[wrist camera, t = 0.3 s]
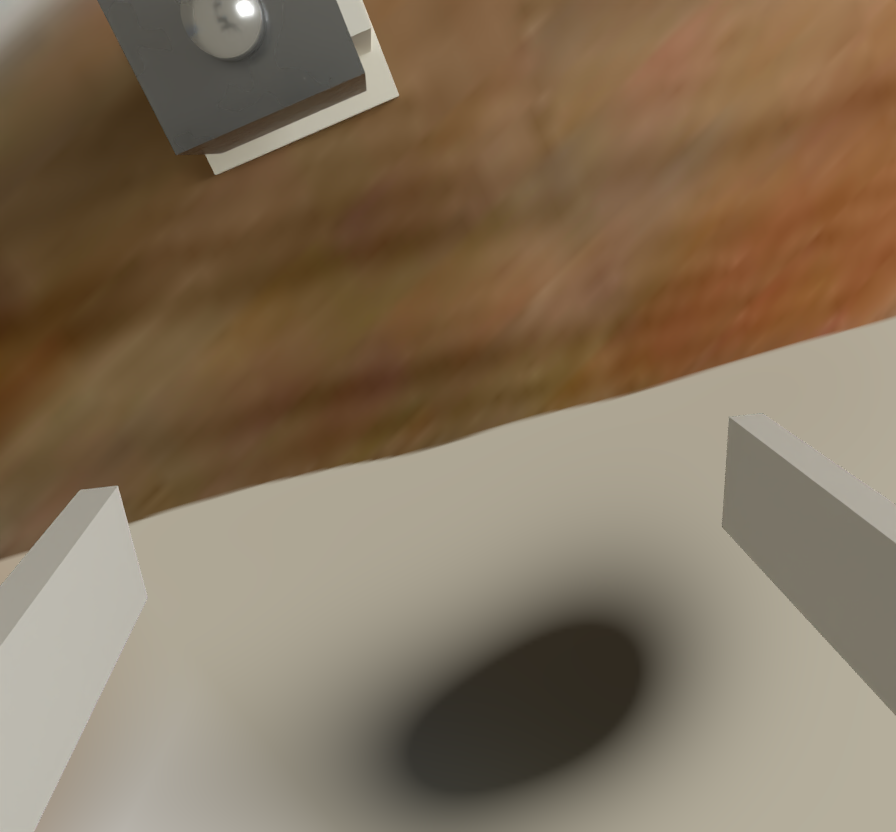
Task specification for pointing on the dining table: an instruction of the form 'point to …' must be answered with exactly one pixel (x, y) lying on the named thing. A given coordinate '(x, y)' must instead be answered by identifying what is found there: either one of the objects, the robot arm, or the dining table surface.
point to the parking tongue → (376, 94)
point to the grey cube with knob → (235, 65)
